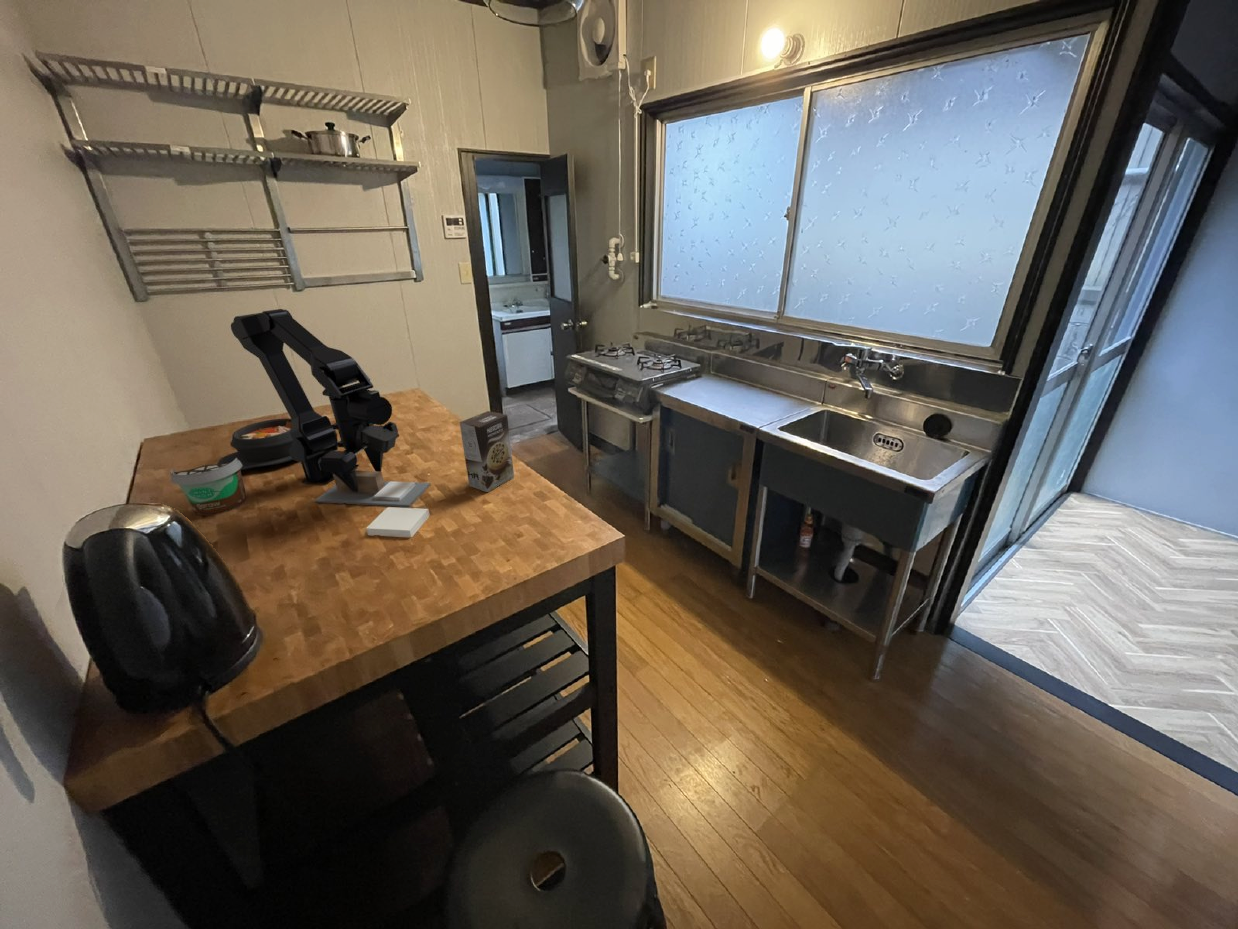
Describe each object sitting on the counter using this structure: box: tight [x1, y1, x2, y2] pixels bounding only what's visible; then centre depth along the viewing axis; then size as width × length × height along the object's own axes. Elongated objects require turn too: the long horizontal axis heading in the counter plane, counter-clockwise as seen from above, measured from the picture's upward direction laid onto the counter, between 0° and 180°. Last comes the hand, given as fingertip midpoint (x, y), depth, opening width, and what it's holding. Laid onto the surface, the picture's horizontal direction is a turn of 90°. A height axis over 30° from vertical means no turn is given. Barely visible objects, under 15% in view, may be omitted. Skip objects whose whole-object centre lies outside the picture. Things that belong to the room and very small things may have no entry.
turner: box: [333, 469, 415, 501], centre depth 111 cm, size 16×7×4 cm, turn 84°
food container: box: [170, 458, 248, 516], centre depth 104 cm, size 12×6×10 cm, turn 117°
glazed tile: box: [365, 506, 430, 538], centre depth 100 cm, size 2×8×9 cm
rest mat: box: [314, 480, 432, 508], centre depth 112 cm, size 22×10×1 cm, turn 84°
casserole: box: [216, 418, 294, 471], centre depth 128 cm, size 25×19×8 cm
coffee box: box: [459, 410, 515, 493], centre depth 113 cm, size 9×6×16 cm
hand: (367, 481), depth 111 cm, fingers open, 9 cm apart
